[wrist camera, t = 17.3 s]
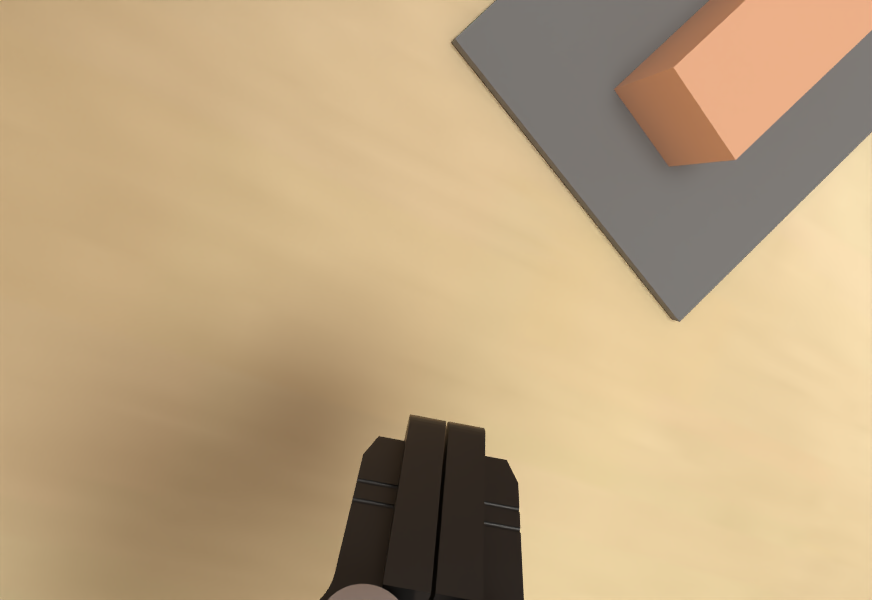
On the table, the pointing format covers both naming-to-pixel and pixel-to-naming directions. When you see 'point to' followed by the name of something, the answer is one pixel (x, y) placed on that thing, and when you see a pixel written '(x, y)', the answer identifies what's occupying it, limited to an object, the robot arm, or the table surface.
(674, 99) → the terracotta block
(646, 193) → the charcoal mat
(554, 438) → the table surface
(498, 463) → the robot arm
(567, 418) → the table surface
